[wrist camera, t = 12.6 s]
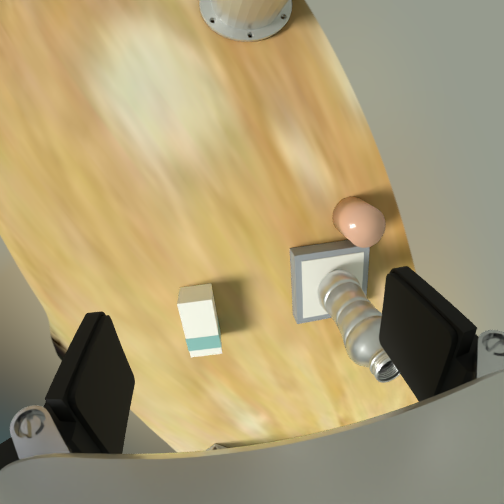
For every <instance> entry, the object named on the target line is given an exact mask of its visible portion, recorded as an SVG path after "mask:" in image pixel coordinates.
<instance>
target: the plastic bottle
mask: <svg viewBox="0 0 504 504" xmlns="http://www.w3.org/2000/svg"><path fill="white" fill-rule="evenodd" d="M317 294H318V299H319V303H320V305H321V306H322V307H323V309H324V310H325V311H326V312H327V313H328V314H330V316H331V317H332V319H333V320H334V321H335V323H336V324H337V326H338V328H339V331H340V333H341V335H342V338H343V341H344V345H345V348H346V351H347V354H348V356H349V358H350V359H351V360H352V361H353V362H355V363H356V364H358V365H360V366H364V367H369V369H370V371H371V373H372V374H373V375H374V376H375V378H376V379H377V380H378V381H379V382H389V381H391V380H393V379H395V378H396V377H397V376H399V375H400V372H399V371H398V369H397V368H396V367H395V365H394V364H393V362H392V361H391V359H390V358H389V356H388V355H387V354H386V352H385V351H384V349H383V348H382V346H381V345H380V342H379V332H380V325H381V317H382V313H380V312H379V311H378V310H377V309H376V308H375V307H374V306H373V305H372V304H371V302H370V301H369V300H368V299H367V297H366V295H365V294H364V292H363V290H362V288H361V285H360V283H359V281H358V279H357V278H356V277H355V276H354V275H353V274H351V273H350V272H348V271H346V270H336V271H333V272H330V273H329V274H327V275H326V276H325V277H324V278H323V279H322V280H321V282H320V284H319V286H318V291H317Z"/></svg>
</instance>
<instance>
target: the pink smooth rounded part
mask: <svg viewBox="0 0 504 504" xmlns="http://www.w3.org/2000/svg"><path fill="white" fill-rule="evenodd" d="M333 223H334V225H335V227H336V228H337V229H338V230H339V231H340V232H341V233H342V234H343V235H344V236H345V237H346V238H347V239H349V240H350V241H351V242H352V243H353V244H354V245H356V246H358V247H361V248H367V247H371V246H373V245H374V244H376V243H377V242H378V241H379V240H380V239H381V237H382V236H383V234H384V231H385V225H386V224H385V218H384V215H383V214H382V212H381V211H380V210H378V209H377V208H375V207H373V206H372V205H370V204H368V203H366V202H365V201H363V200H361V199H359V198H357V197H347V198H344V199H342V200H341V201H340V202H339V203H338V204H337V205H336V207H335V209H334V211H333Z"/></svg>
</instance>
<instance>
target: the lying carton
mask: <svg viewBox="0 0 504 504" xmlns="http://www.w3.org/2000/svg"><path fill="white" fill-rule="evenodd" d="M177 305H178V309H179V313H180V317H181V321H182V325H183V329H184V333H185V337H186V342H187V346H188V350H189V352H190V355H191V357H197V356H206V355H214V354H221V353H222V344H221V333H220V326H219V321H218V317H217V312H216V307H215V301H214V295H213V290H212V284H211V283H210V284H202V285H195V286H188V287H180V289H179V295H178V302H177Z"/></svg>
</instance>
